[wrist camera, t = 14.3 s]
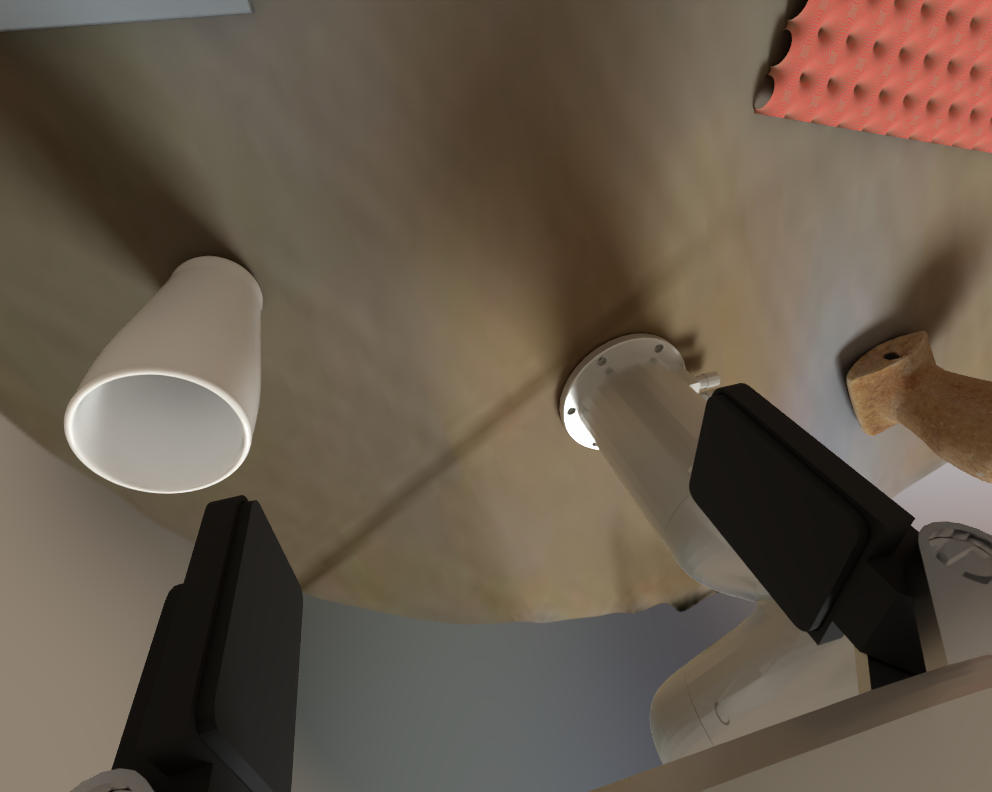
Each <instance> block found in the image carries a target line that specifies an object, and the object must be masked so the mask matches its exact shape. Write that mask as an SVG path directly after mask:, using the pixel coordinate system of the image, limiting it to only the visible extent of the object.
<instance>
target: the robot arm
mask: <svg viewBox="0 0 992 792" xmlns="http://www.w3.org/2000/svg"><path fill="white" fill-rule="evenodd" d="M719 384H720V377H719V375H718V373H717V372H715V371H713V372H709V373H705V374H702V375H700V376H696V377H695V376H694V375H691V374H690V373H689V372H688V371H686V368H685V363H684V360H683V358H682V356H681V354H680V352H679V351H678V350H677V349H676V348H675V347H674V346H673V345H672V344H670V343H669V342H668V341H667V340H665V339H663V338H661V337H659V336H656V335H651V334H646V333H643V334H630V335H626V336H621V337H619V338H616V339H613V340H611V341H608V342H607V343H605V344H603V345H602V346H600V347H598V348H596V349H595V350H594V351H593V352H591V353H590V354H589V355H588V356H586V357H585V358H584V359H583V360H582V361H581V362H580V363H579V364H578V365H577V367H576V368H575V369H574V371H573V372H572V374H571V375H570V376H569V378H568V380H567V382H566V384H565V386H564V388H563V391H562V395H561V398H560V408H559V411H560V417H561V421H562V423H563V425H564V428H565V429H566V431H567V432H568V433H569V435H570V437H572V438H573V439H574V440H575V441H576V442H577V443H579V444H581V445H583V446H585V447H588V448H591V449H599V450H600V451H601V453H602V454H603V456H604V457H605V459H606V460H607V462H608V463H609V465H610V466H611V467H612V469H613V470H614V472H615V473H616V475H617V476H618V478H619V479H620V481H621V482H622V483H623V485H624V486H625V488H626V489H627V491H628V492H629V494H630V495H631V497H632V498H633V500H634V501H635V502H636V504H637V505H638V507H639V508H640V510H641V511H642V513H643V514H644V516H645V517H646V518H647V520H648V521H649V523H650V524H651V526H652V527H653V529H654V530H655V532H656V533H657V534H658V536H659V537H660V539H661V540H662V542H663V543H664V545H665V546H666V548H667V549H668V550H669V552H670V553H671V555H672V556H673V557H674V559H675V560H676V562H677V563H678V564H679V566H680V567H681V568H682V569H683V570H684V571H685V572H686V573H687V574H688V575H689V576H690V577H692V578H693V579H695V580H696V581H697V582H699V583H701V584H702V585H705V586H707V587H709V588H711V589H713V590H716V591H719V592H722V593H724V594H728V595H731V596H735V597H739V598H742V599H746V600H750V601H754V602H757V607H756V610H755V611H754V612H753V613H752V614H751V615H750V616H749V617H748V618H746V619H745V620H744V621H743V622H741V623H740V625H739V626H738V627H736V628H735V629H734V630H732V631H731V632H729V633H728V634H727V635H725V636H724V637H723V638H721V639H720V640H718V641H717V642H716V643H714V644H713V645H711V646H710V647H709V648H707V649H706V650H705V651H703V652H702V653H700V654H699V655H698V656H696V657H695V658H693V659H692V660H691V661H689V662H688V663H687V664H686V665H684V666H683V667H682V668H680V669H679V670H678V671H676V672H675V673H674V674H673V675H672V676H670V677H669V678H668V679H667V680H666V681H665V682H664V683H663V685H661V687H660V688H659V689H658V691H657V693H656V694H655V697H654V698H653V701H652V705H651V709H650V726H651V731H652V736H653V740H654V743H655V746H656V749H657V752H658V754H659V757H660V759H661V761H662V763H663V765H661V766H659V767H656V768H653V769H650V770H647V771H644V772H642V773H639V774H636V775H634V776H631V777H628V778H625V779H623V780H620V781H617V782H614V783H611V784H609V785H606V786H603V787H600V788H597V789H595V790H592V791H589V792H992V536H991V535H989V534H987V533H985V532H983V531H981V530H979V529H976V528H973V527H970V526H967V525H964V524H960V523H953V522H933V523H930V524H928V525H925V526H924V527H923V528H922V529H921V530H920V532H918V531H917V530H916V529H914V528H913V527H912V526H911V524H912V522H913V521H914V519H915V518H914V517H913V516H912V515H910V514H909V513H908V512H907V511H905V510H904V509H903V508H902V507H900V506H899V505H898V504H897V503H895V502H894V501H893V500H892V499H890V498H889V497H888V496H887V495H885V494H884V493H883V492H882V491H880V490H879V489H878V488H877V487H875V486H874V485H873V484H872V483H870V482H869V481H868V480H867V479H865V478H864V477H863V476H862V475H860V474H859V473H858V472H856V471H855V470H854V469H853V468H851V467H850V466H849V465H848V464H846V463H845V462H844V461H843V460H841V459H840V458H839V457H838V456H836V455H835V454H834V453H833V452H831V451H830V450H829V449H828V448H826V447H825V446H824V445H823V444H821V443H820V442H819V441H818V440H816V439H815V438H814V437H813V436H811V435H810V434H809V433H808V432H806V431H805V430H804V429H802V428H801V427H800V426H799V425H797V424H796V423H795V422H794V421H792V420H791V419H790V418H789V417H787V416H786V415H785V414H784V413H782V412H781V411H780V410H779V409H777V408H776V407H775V406H774V405H772V404H771V403H770V402H769V401H767V400H766V399H765V398H764V397H762V396H761V395H760V394H759V393H757V392H756V391H755V390H754V389H752V388H751V387H750V386H748V385H746V384H744V383H739V384H735V385H730V386H726V387H721V388H716V389H712V390H708V391H704V392H701V393H700V394H698V393H699V389H702V388H704V389H705V388H709V387H714V386H717V385H719ZM302 610H303V597H302V591H301V587H300V584H299V582H298V580H297V578H296V576H295V574H294V572H293V570H292V568H291V566H290V564H289V562H288V560H287V558H286V556H285V554H284V552H283V550H282V548H281V546H280V544H279V542H278V540H277V538H276V536H275V534H274V532H273V530H272V528H271V526H270V524H269V522H268V520H267V518H266V516H265V514H264V512H263V510H262V508H261V506H260V504H259V502H258V501H257V500H254V501H248V499H247V498H246V497H245V496H244V495H240V496H236V497H232V498H227V499H223V500H218V501H214V502H210V503H209V504H208V505H207V507H206V509H205V512H204V516H203V519H202V522H201V526H200V529H199V533H198V536H197V540H196V543H195V546H194V550H193V553H192V557H191V560H190V563H189V567H188V570H187V574H186V577H185V580H184V583H183V584H179V585H176V586H174V587H173V588H172V589H171V590H170V592H169V593H168V596H167V598H166V600H165V603H164V606H163V609H162V612H161V615H160V619H159V622H158V625H157V628H156V631H155V634H154V637H153V641H152V644H151V647H150V650H149V653H148V656H147V660H146V663H145V666H144V669H143V672H142V675H141V679H140V682H139V685H138V688H137V691H136V694H135V697H134V700H133V704H132V707H131V710H130V713H129V716H128V719H127V723H126V726H125V729H124V732H123V735H122V738H121V741H120V745H119V748H118V751H117V754H116V757H115V760H114V763H113V767H112V770H110V771H105V772H101V773H99V774H98V775H96V776H93V777H91V778H89V779H88V780H86V781H84V782H82V783H80V784H79V785H78V786H77V787H75V788H74V789H73V790H71V791H70V792H291V783H292V768H293V752H294V736H295V720H296V705H297V689H298V673H299V656H300V642H301V626H302Z"/></svg>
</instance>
